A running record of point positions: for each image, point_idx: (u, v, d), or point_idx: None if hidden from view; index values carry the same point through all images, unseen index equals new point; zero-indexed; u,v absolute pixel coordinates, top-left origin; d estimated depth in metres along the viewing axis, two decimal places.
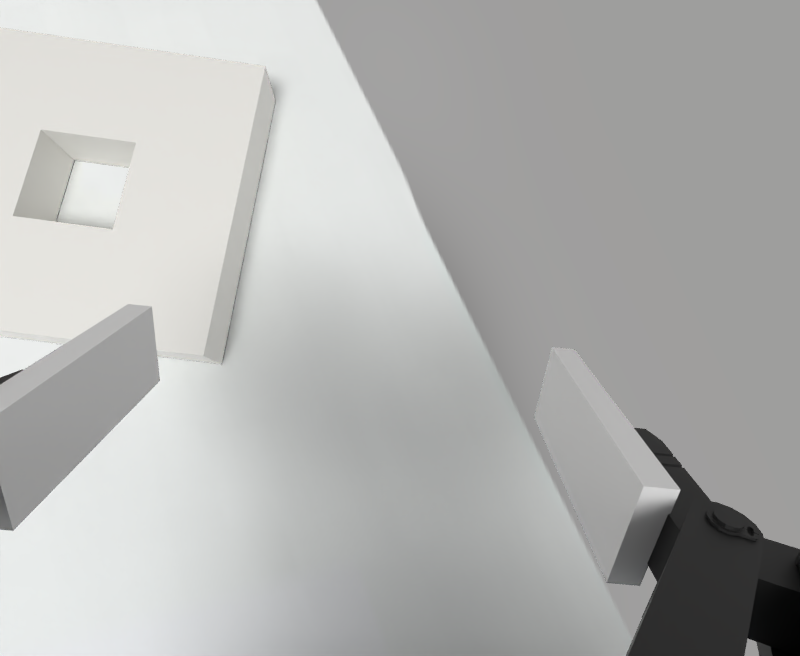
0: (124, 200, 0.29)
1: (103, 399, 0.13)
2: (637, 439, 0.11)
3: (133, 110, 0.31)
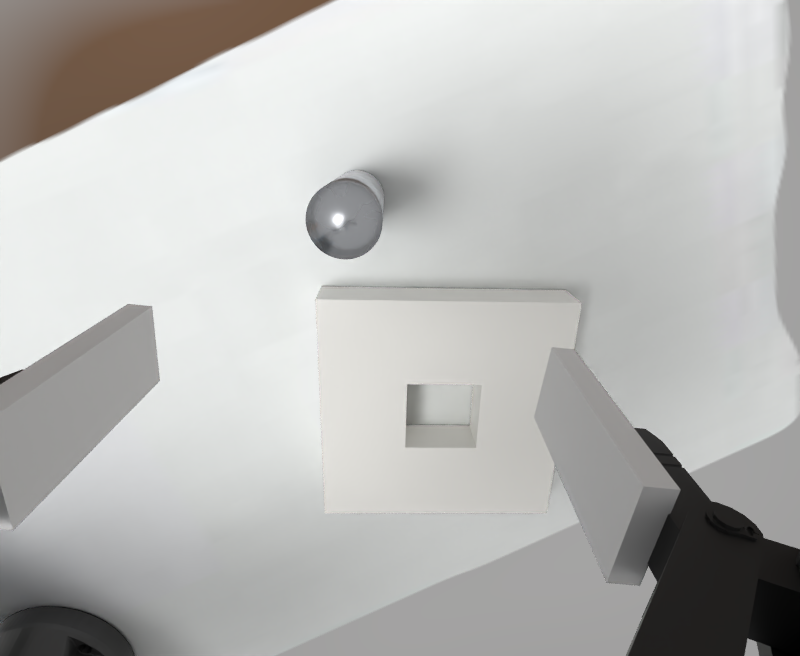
0: (428, 450, 0.40)
1: (103, 399, 0.13)
2: (637, 439, 0.11)
3: (503, 440, 0.40)
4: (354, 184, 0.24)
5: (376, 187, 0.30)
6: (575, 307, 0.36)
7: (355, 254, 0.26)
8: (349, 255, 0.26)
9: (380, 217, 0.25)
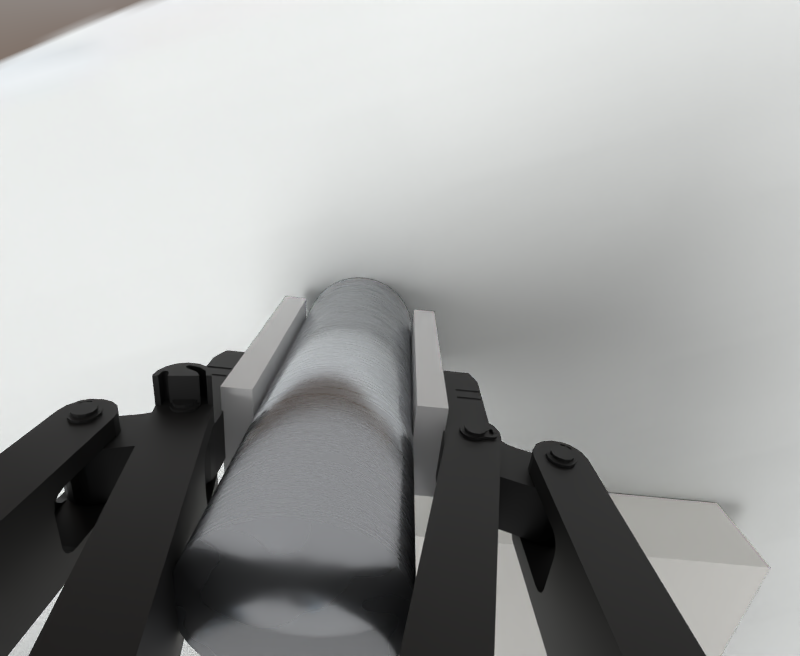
0: None
1: None
2: (438, 375, 0.13)
3: None
4: (333, 527, 0.07)
5: (400, 374, 0.13)
6: (755, 573, 0.19)
7: None
8: None
9: None
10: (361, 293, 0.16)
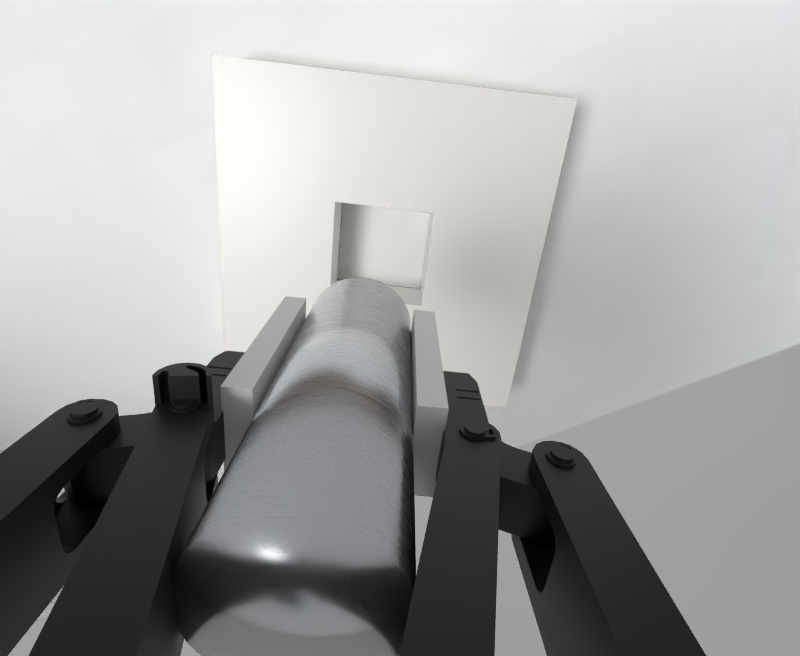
0: None
1: None
2: (438, 375, 0.13)
3: (457, 299, 0.31)
4: (333, 526, 0.07)
5: (400, 373, 0.13)
6: (567, 105, 0.26)
7: None
8: None
9: None
10: (361, 293, 0.16)
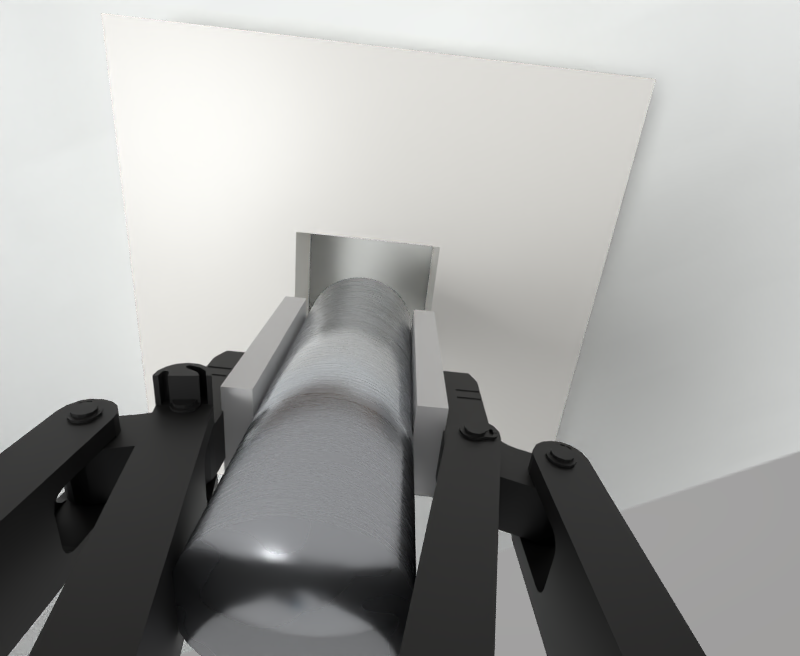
0: None
1: None
2: (438, 375, 0.13)
3: (473, 364, 0.22)
4: (333, 527, 0.07)
5: (400, 374, 0.13)
6: (641, 88, 0.17)
7: None
8: None
9: None
10: (361, 293, 0.16)
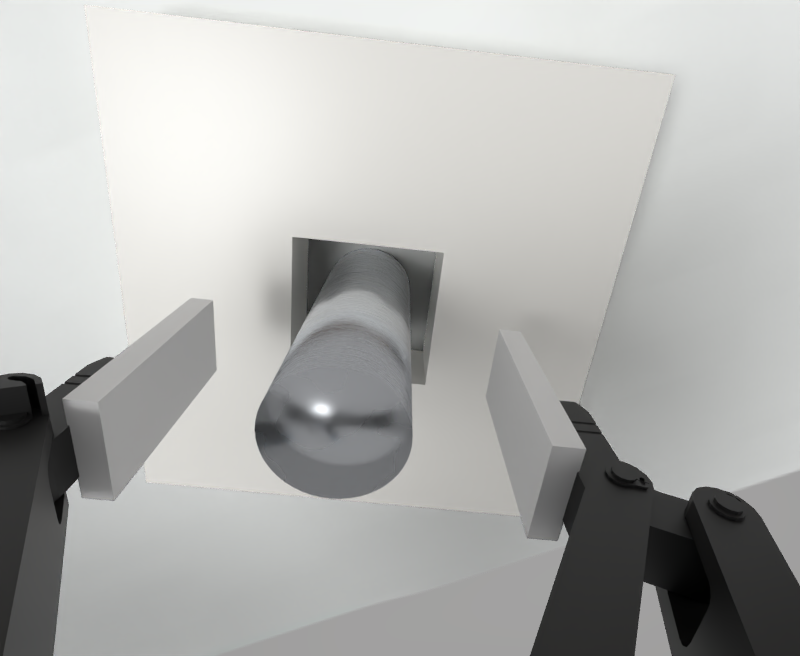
0: None
1: (177, 385, 0.14)
2: (558, 407, 0.12)
3: (478, 375, 0.21)
4: (361, 374, 0.11)
5: (401, 311, 0.17)
6: (659, 84, 0.16)
7: (351, 492, 0.13)
8: (339, 493, 0.13)
9: (409, 436, 0.12)
10: (370, 258, 0.21)
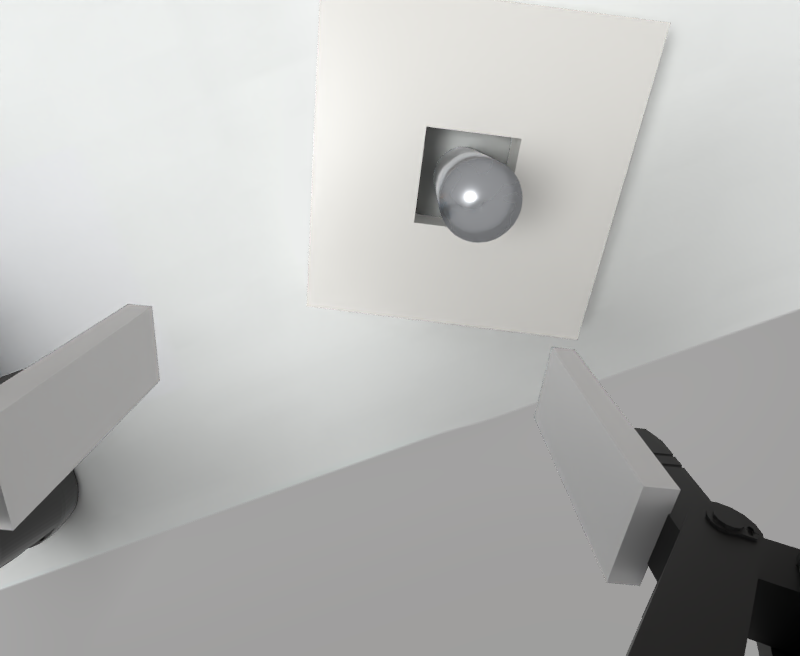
0: (442, 230, 0.32)
1: (103, 399, 0.13)
2: (637, 439, 0.11)
3: (538, 227, 0.32)
4: (499, 162, 0.22)
5: None
6: (661, 29, 0.27)
7: (485, 238, 0.24)
8: (479, 238, 0.24)
9: (520, 201, 0.23)
10: (469, 148, 0.32)
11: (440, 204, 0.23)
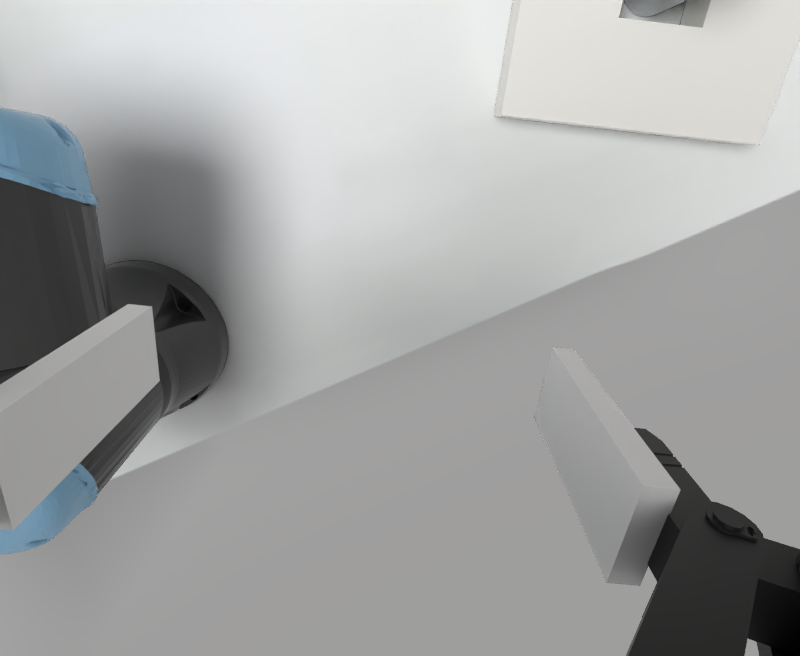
0: (645, 25, 0.33)
1: (103, 399, 0.13)
2: (637, 439, 0.11)
3: (738, 19, 0.33)
4: None
5: None
6: None
7: None
8: None
9: None
10: None
11: None
